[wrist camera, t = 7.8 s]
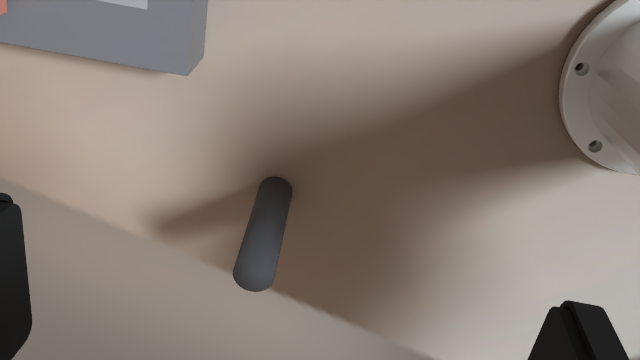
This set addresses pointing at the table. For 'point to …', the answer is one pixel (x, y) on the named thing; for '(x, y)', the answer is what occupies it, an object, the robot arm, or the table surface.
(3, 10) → the switch
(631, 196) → the table surface
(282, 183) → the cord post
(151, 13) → the box
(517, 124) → the table surface
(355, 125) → the table surface
